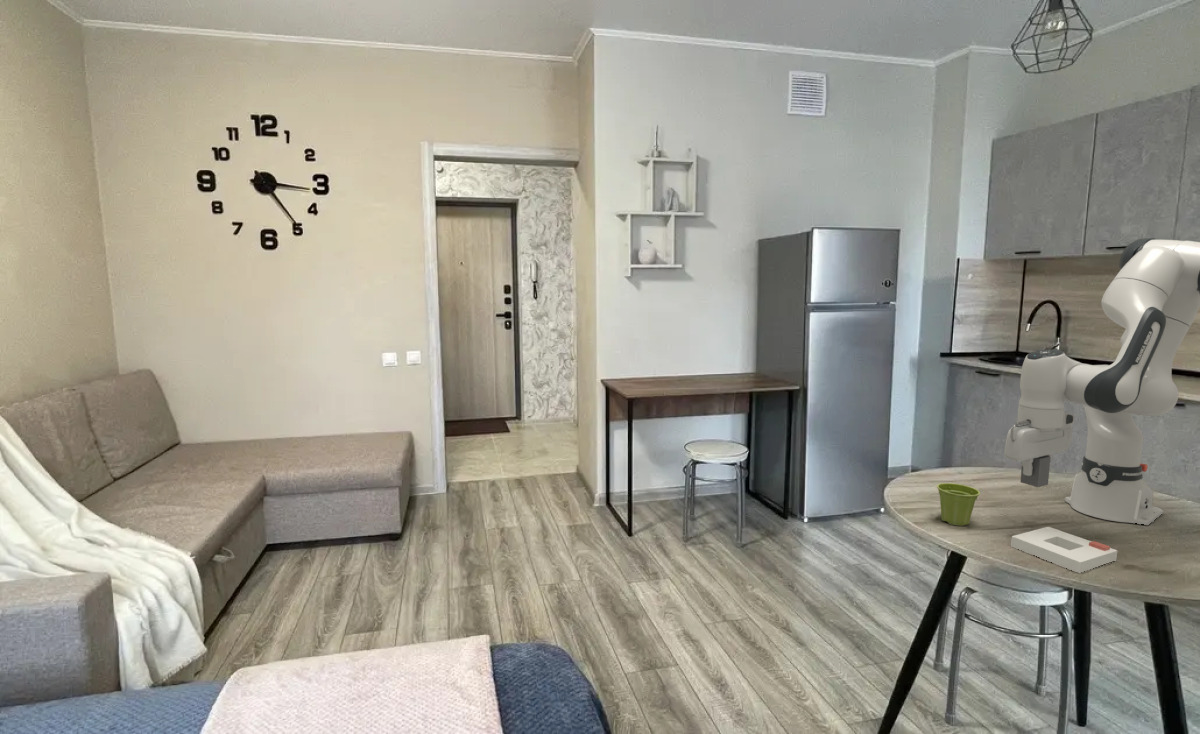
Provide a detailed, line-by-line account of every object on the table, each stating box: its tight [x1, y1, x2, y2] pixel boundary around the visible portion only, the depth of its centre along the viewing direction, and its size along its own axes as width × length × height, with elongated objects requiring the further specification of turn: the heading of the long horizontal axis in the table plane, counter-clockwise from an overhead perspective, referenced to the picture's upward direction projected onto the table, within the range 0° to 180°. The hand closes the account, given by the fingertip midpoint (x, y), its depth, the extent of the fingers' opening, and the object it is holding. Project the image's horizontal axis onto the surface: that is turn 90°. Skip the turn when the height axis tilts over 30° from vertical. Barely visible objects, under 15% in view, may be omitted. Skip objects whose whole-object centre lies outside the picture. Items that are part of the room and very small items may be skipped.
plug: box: [1019, 456, 1051, 488], centre depth 146 cm, size 4×4×7 cm
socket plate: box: [1010, 526, 1118, 574], centre depth 135 cm, size 14×14×3 cm
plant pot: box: [936, 482, 981, 527], centre depth 152 cm, size 9×9×9 cm
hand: (1035, 473), depth 146 cm, fingers closed on plug, 4 cm apart
